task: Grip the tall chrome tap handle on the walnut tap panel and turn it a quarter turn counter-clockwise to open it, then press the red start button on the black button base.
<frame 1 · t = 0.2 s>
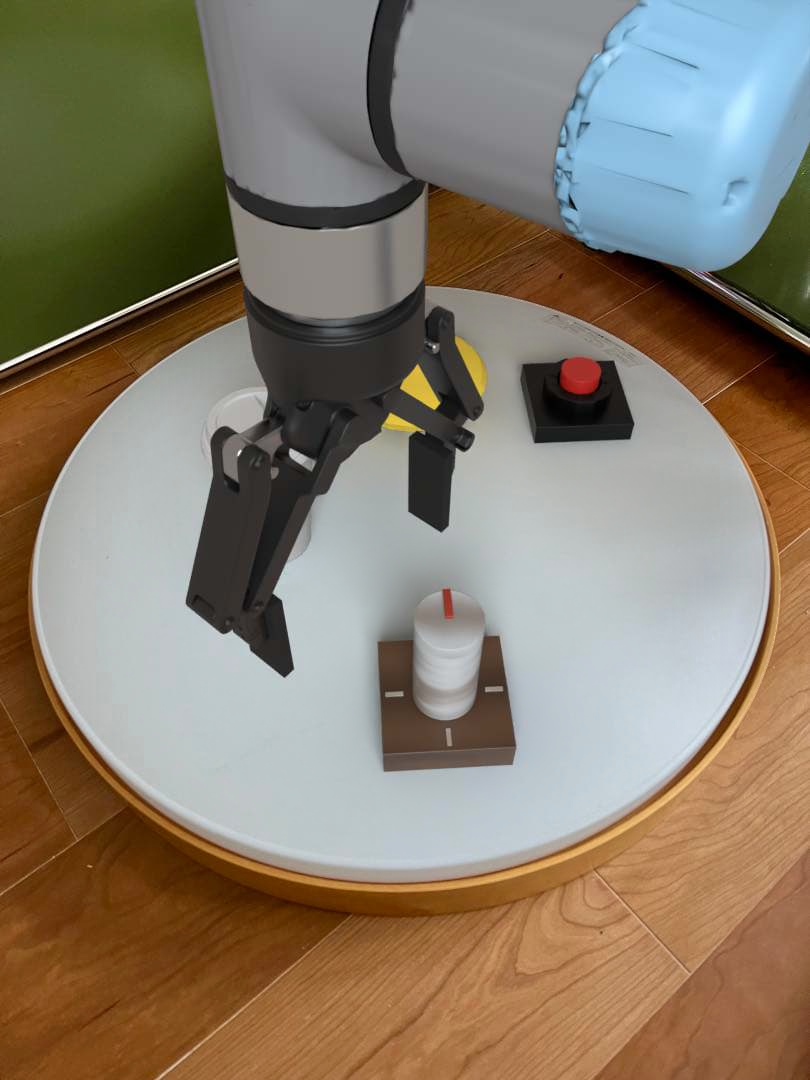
hand: (355, 585, 53), 22 cm above the table, tool pointing down, fingers open, 13 cm apart
start button: (580, 375, 92), point 4 cm above the table, slide at 0.1 cm
yellow funnel lid: (412, 397, 96), on the table
black button base: (573, 408, 95), on the table
tap knob: (446, 656, 66), point 8 cm above the table, hinge at 0.0°
coffee cup: (276, 538, 84), on the table
tap panel: (442, 710, 72), on the table
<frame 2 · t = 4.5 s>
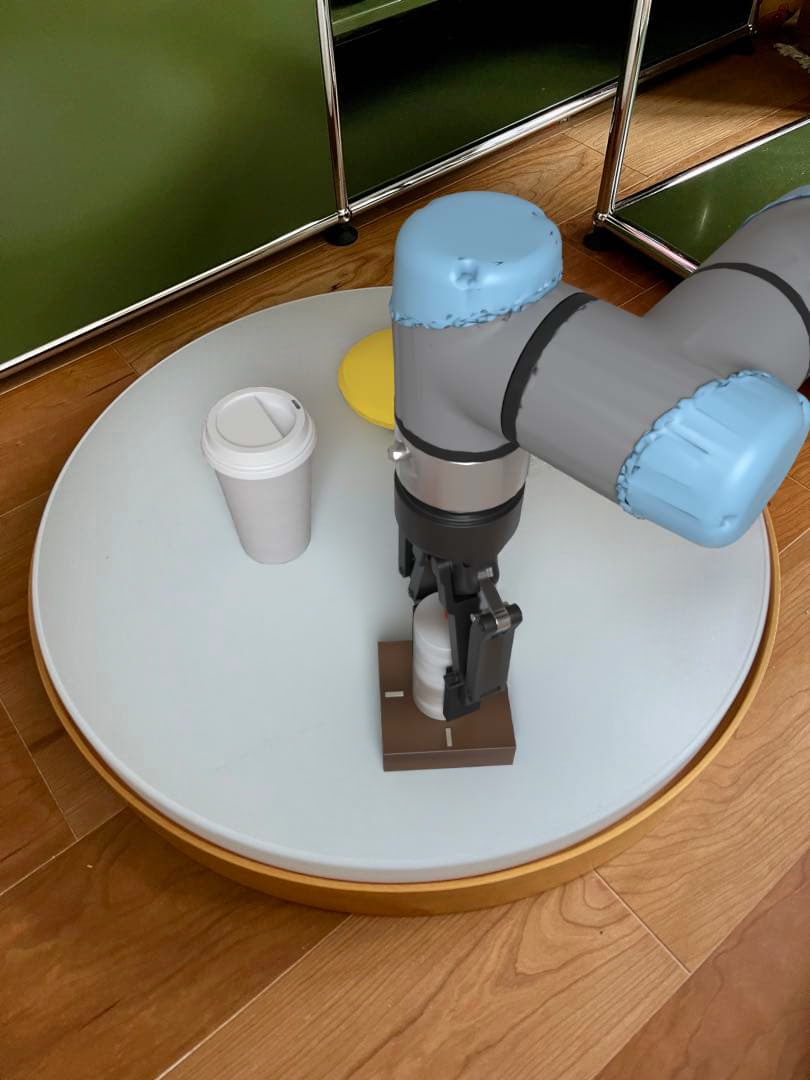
hand: (445, 680, 69), 5 cm above the table, tool pointing down, fingers closed on tap knob, 5 cm apart
tap knob: (446, 656, 66), point 8 cm above the table, hinge at 0.0°, touching gripper
everything else where it was.
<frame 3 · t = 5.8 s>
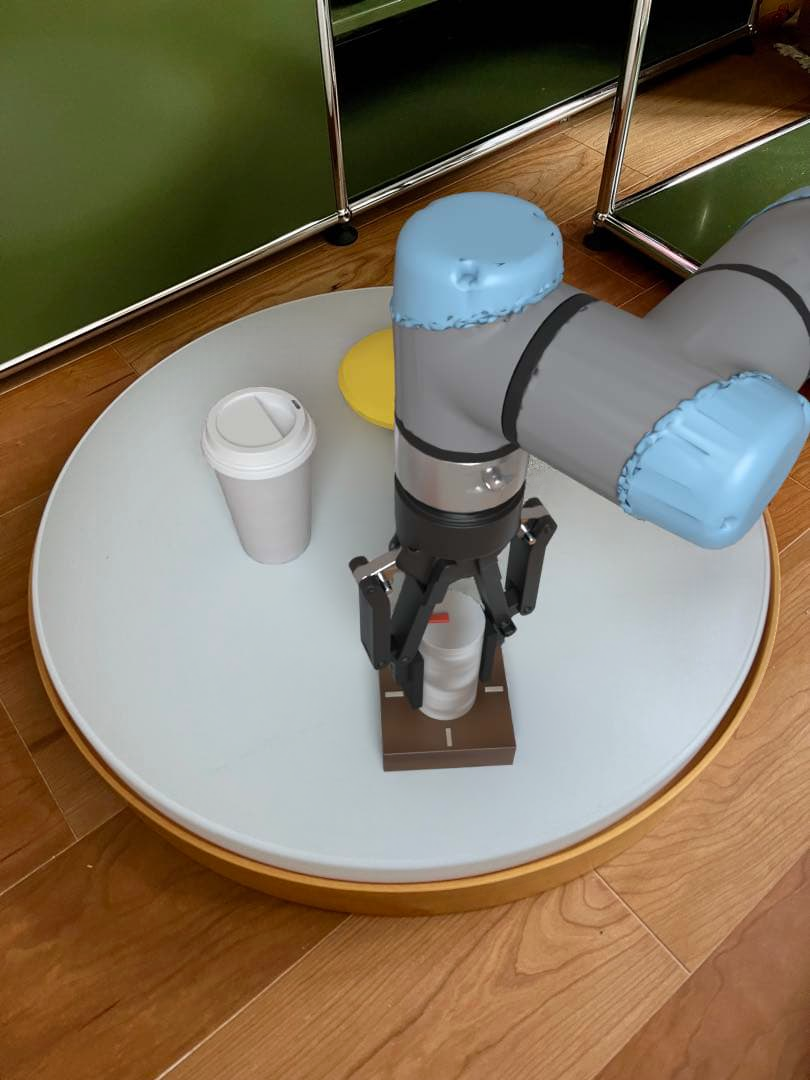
hand: (444, 680, 69), 5 cm above the table, tool pointing down, fingers closed on tap knob, 5 cm apart
tap knob: (446, 656, 66), point 8 cm above the table, hinge at 90.0°, touching gripper
everything else where it was.
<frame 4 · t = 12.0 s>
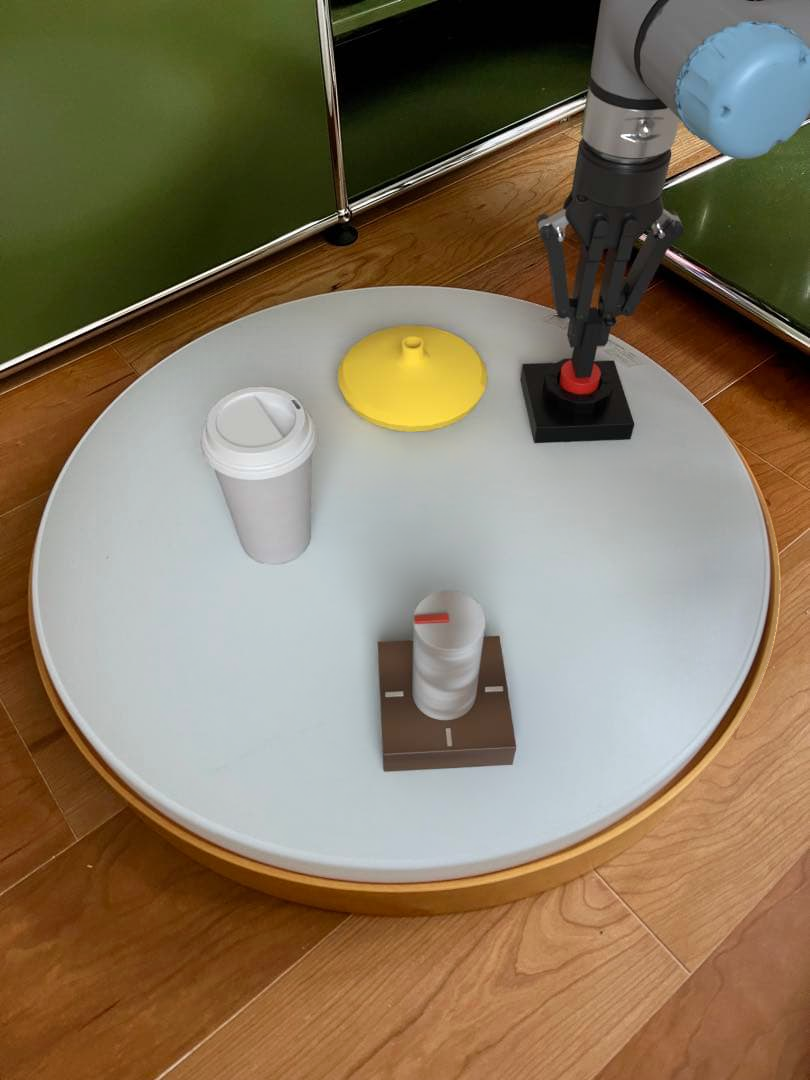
hand: (581, 368, 91), 5 cm above the table, tool pointing down, fingers closed
start button: (579, 377, 92), point 4 cm above the table, slide at -0.2 cm, touching gripper
tap knob: (446, 656, 66), point 8 cm above the table, hinge at 90.2°
everything else where it was.
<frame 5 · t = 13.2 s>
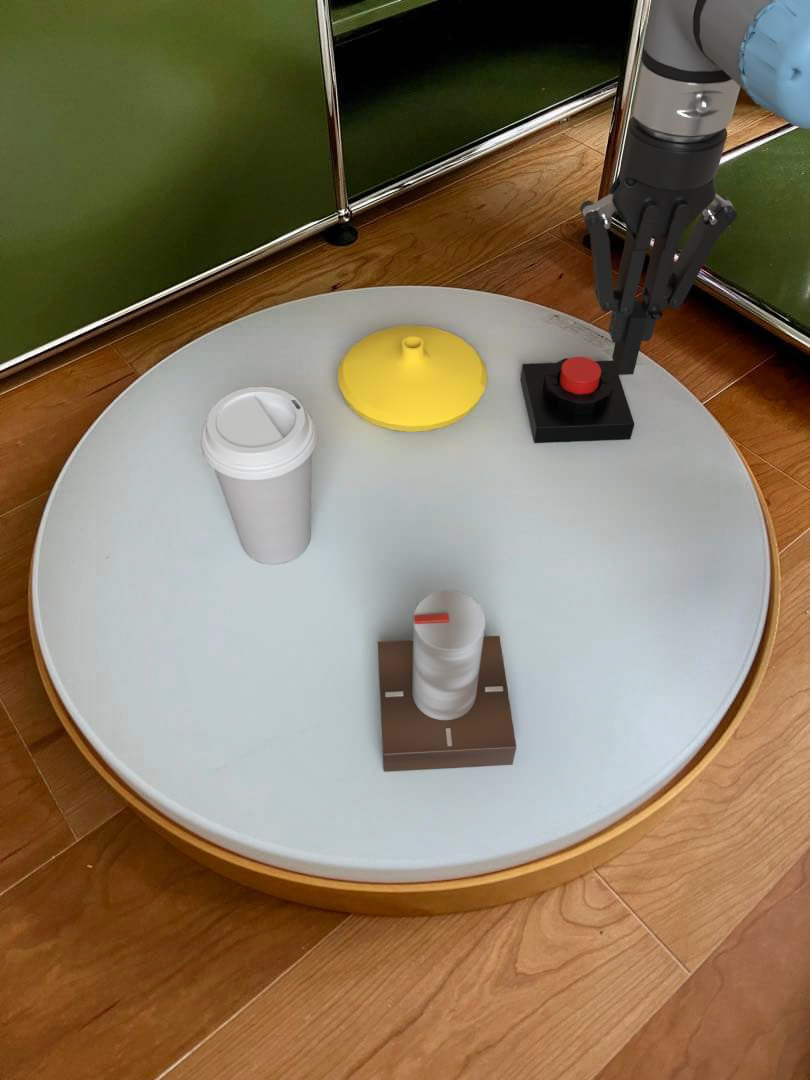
hand: (622, 365, 87), 8 cm above the table, tool pointing down, fingers closed
start button: (580, 375, 92), point 4 cm above the table, slide at 0.1 cm
everything else where it was.
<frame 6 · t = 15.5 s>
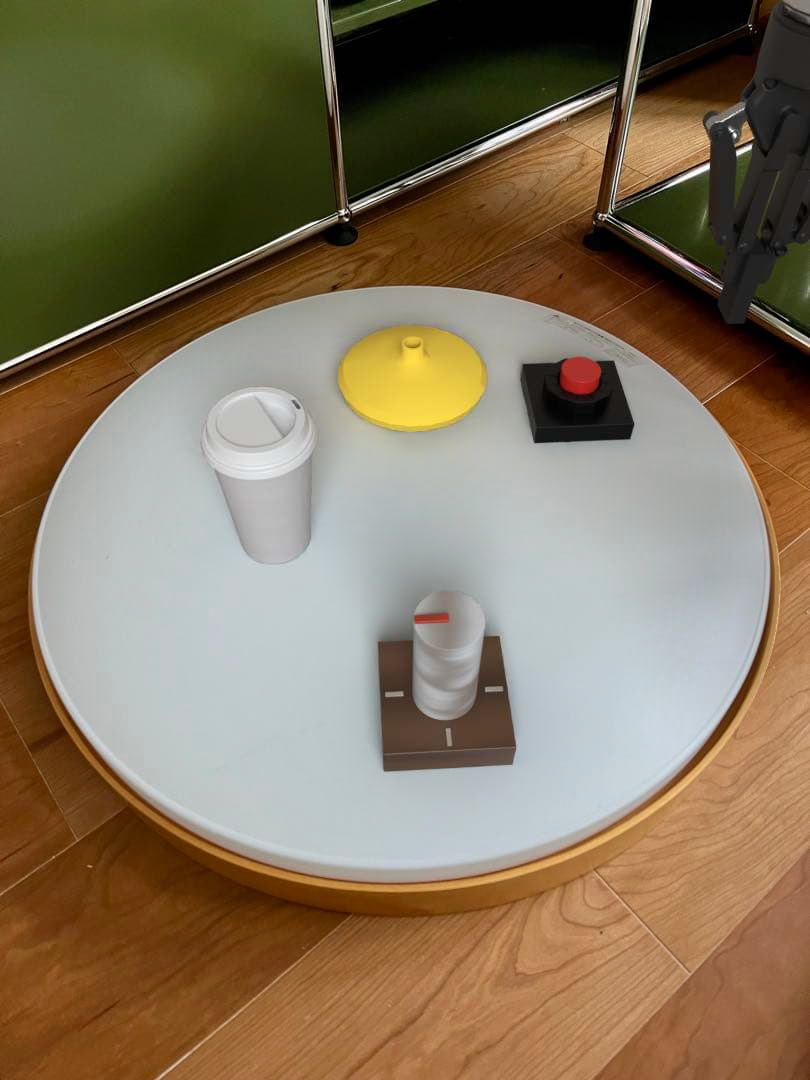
hand: (730, 313, 76), 18 cm above the table, tool pointing down, fingers closed
nothing on the table moved.
at the end: tap knob at +90° (first picture: +0°); start button pushed in 1.0 cm at the most during the clip, back to where it started at the end; start button slide at 0.1 cm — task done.
